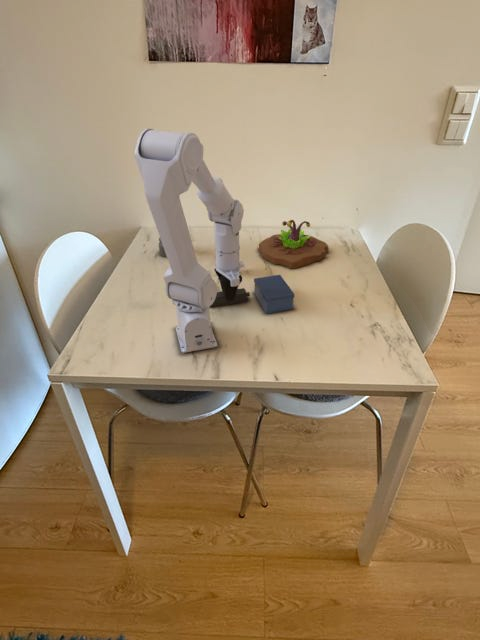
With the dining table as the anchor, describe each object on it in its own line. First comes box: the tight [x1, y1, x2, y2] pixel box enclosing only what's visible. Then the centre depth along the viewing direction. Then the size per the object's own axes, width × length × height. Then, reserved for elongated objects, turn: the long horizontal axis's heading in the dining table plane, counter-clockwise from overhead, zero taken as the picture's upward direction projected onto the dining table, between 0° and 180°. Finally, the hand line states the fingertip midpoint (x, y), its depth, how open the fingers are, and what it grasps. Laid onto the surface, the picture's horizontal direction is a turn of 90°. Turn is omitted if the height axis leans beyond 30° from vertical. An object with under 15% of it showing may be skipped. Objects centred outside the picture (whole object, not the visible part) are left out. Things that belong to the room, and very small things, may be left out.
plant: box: [258, 219, 329, 270], centre depth 125 cm, size 20×20×11 cm
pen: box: [211, 287, 251, 308], centre depth 105 cm, size 12×3×3 cm, turn 105°
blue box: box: [253, 274, 296, 314], centre depth 105 cm, size 10×7×4 cm
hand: (228, 296), depth 105 cm, fingers closed on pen, 2 cm apart
